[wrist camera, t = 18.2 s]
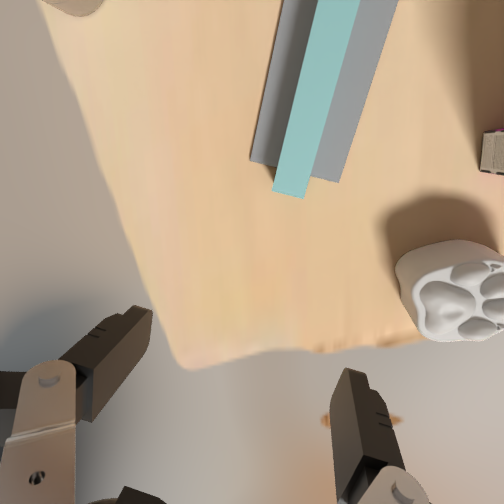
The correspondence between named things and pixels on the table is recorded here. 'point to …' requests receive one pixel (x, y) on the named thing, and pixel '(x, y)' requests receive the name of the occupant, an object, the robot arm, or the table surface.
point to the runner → (346, 91)
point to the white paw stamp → (453, 290)
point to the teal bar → (314, 93)
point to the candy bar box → (493, 152)
